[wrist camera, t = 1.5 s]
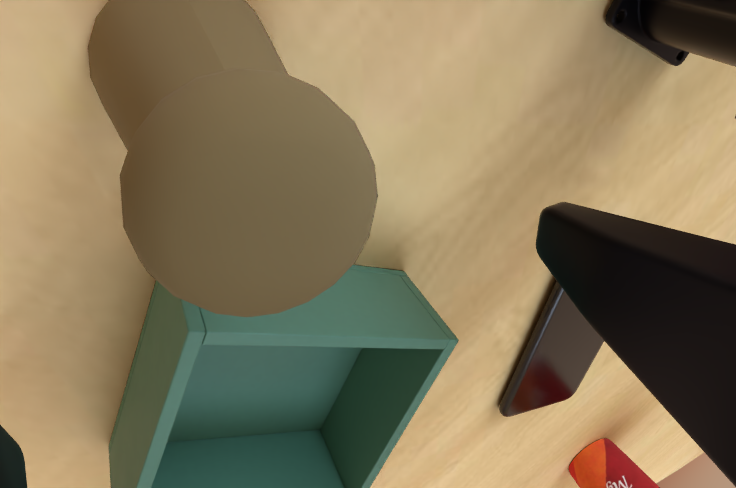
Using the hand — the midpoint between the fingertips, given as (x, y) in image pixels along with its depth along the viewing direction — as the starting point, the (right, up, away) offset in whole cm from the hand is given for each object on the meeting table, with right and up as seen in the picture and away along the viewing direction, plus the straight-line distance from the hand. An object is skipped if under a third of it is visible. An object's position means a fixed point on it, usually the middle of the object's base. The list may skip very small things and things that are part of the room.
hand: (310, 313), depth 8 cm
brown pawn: (-5, +7, +10) cm, 13 cm away
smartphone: (+16, -5, +30) cm, 34 cm away
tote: (-5, -5, +19) cm, 20 cm away
